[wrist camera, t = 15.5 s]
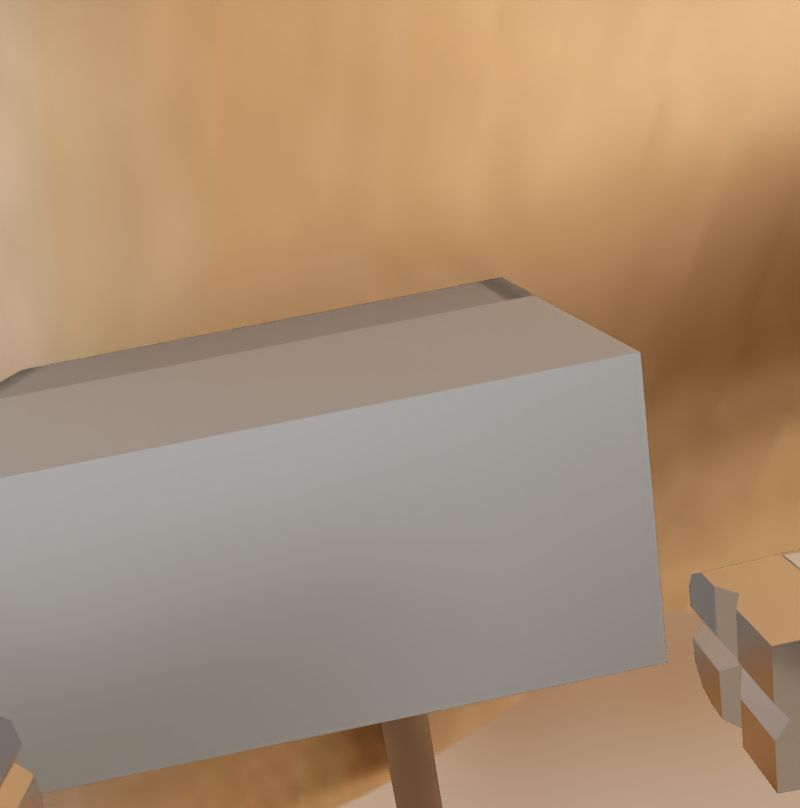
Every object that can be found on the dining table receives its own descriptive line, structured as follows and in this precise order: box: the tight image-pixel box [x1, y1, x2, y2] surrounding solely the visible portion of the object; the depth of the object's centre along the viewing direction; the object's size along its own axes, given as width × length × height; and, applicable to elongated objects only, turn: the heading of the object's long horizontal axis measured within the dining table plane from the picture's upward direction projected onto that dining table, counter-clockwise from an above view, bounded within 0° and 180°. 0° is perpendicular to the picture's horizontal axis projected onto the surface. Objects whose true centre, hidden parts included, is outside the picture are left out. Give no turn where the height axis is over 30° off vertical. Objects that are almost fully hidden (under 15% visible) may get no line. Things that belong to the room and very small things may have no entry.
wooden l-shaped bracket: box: [381, 713, 442, 808], centre depth 40 cm, size 10×14×5 cm
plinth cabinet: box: [0, 277, 667, 794], centre depth 30 cm, size 24×12×18 cm, turn 100°
